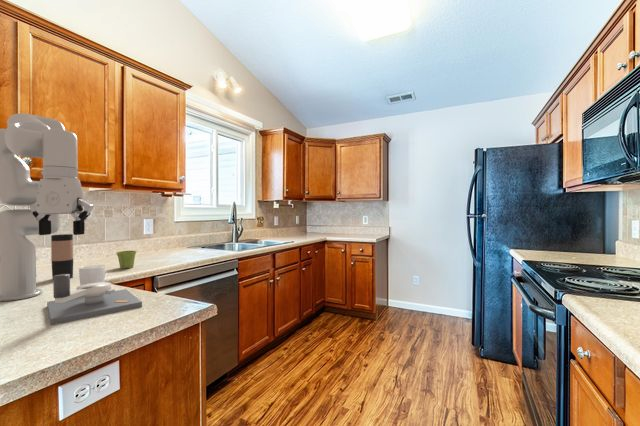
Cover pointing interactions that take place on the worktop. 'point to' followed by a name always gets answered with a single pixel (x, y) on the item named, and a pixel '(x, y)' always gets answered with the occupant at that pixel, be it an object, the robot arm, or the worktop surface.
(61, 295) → the lever handle
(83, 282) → the white cup
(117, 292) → the post base
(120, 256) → the plant pot
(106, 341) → the worktop surface
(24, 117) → the robot arm
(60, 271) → the travel mug
